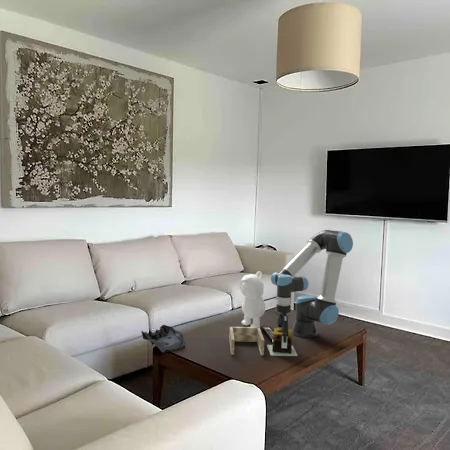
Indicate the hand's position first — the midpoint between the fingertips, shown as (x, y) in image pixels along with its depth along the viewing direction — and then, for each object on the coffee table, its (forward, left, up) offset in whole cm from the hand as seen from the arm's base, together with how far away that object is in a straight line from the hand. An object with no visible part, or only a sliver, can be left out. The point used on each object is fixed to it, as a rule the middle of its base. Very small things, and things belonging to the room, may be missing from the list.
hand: (281, 343), depth 227 cm
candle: (0, 0, -4) cm, 4 cm away
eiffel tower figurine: (-10, -71, -5) cm, 72 cm away
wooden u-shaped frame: (+19, -4, -4) cm, 20 cm away
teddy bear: (+11, -40, -4) cm, 42 cm away
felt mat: (0, 0, -4) cm, 4 cm away
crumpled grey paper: (+64, -5, -5) cm, 64 cm away
